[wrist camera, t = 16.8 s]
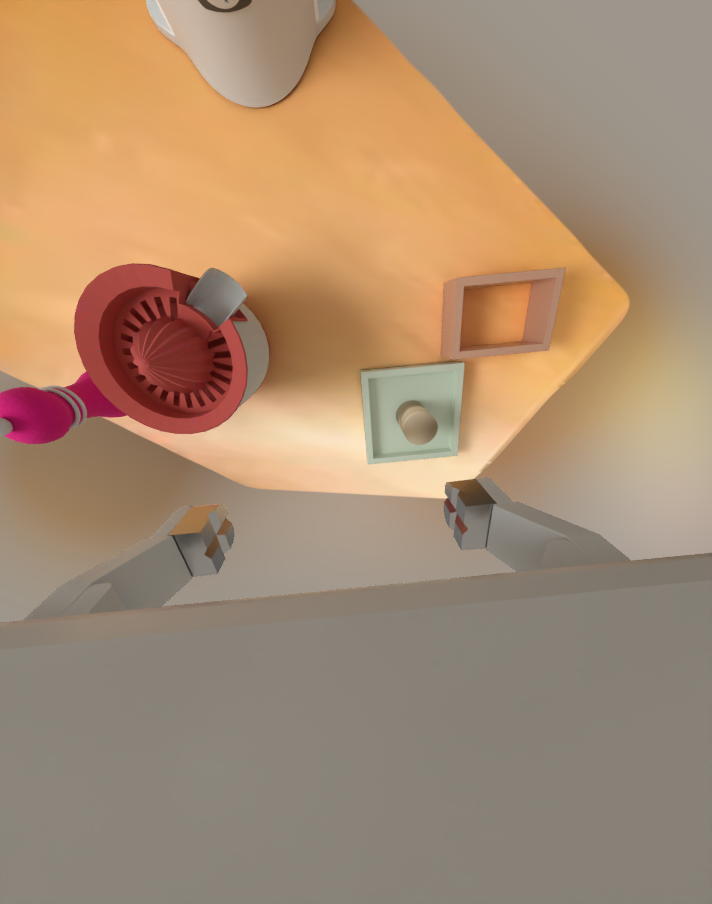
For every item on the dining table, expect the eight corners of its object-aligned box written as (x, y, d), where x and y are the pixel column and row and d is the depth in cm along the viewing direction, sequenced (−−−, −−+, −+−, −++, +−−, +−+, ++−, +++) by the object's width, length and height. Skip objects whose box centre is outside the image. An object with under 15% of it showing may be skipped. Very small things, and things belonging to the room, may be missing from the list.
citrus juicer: (308, 331, 41) (282, 337, 23) (246, 415, 47) (185, 474, 28) (213, 247, 37) (87, 173, 18) (156, 351, 42) (14, 374, 24)
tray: (360, 370, 44) (361, 372, 42) (458, 360, 44) (464, 362, 42) (366, 458, 51) (368, 464, 49) (452, 450, 51) (457, 455, 49)
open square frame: (443, 283, 39) (456, 277, 35) (540, 273, 40) (565, 267, 35) (440, 355, 44) (451, 359, 39) (527, 347, 44) (548, 350, 39)
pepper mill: (123, 351, 41) (-47, 373, 23) (167, 385, 44) (44, 429, 26) (101, 385, 43) (-72, 430, 25) (144, 416, 46) (15, 477, 28)
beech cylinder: (395, 401, 46) (404, 415, 39) (425, 399, 46) (438, 412, 40) (395, 429, 48) (404, 446, 42) (424, 427, 48) (436, 443, 42)
